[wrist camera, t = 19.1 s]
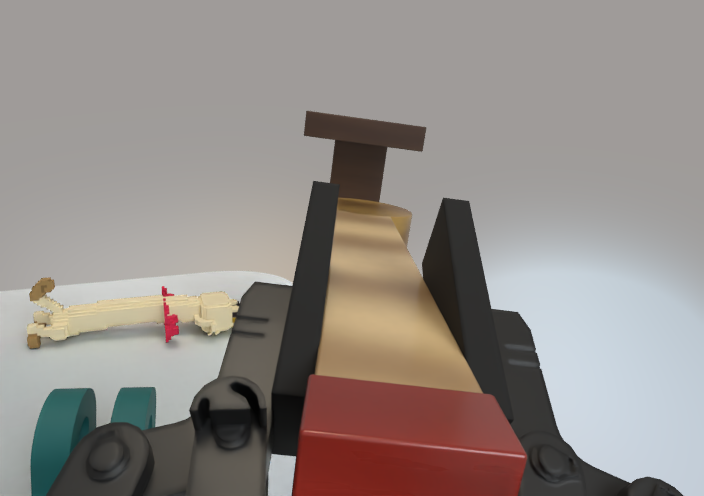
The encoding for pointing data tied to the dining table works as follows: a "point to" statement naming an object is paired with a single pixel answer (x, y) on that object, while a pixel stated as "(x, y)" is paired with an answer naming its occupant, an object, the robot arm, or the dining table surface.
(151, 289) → the dining table surface
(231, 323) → the cream toy animal figure
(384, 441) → the pointer
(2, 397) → the dining table surface
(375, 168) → the stand
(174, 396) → the dining table surface
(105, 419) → the dining table surface
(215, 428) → the robot arm
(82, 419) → the bracket
